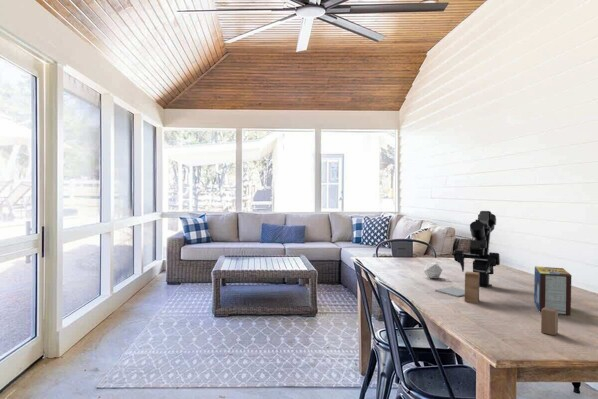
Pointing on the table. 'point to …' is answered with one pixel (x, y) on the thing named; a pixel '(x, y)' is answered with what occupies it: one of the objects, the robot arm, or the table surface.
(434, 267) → the die
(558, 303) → the protein box
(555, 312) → the wooden block
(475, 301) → the walnut block
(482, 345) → the table surface
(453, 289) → the coaster
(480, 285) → the robot arm
